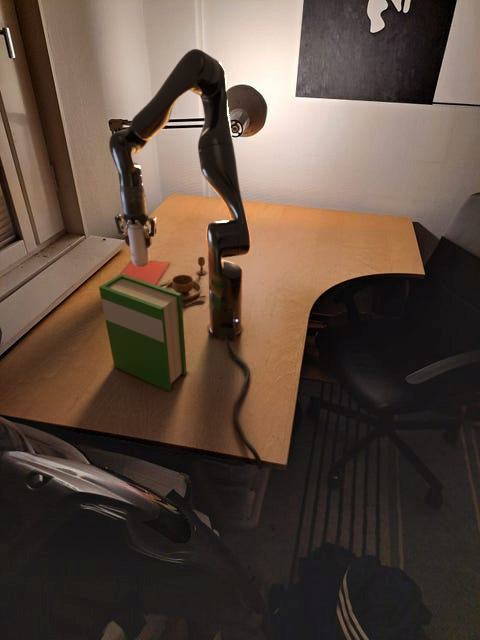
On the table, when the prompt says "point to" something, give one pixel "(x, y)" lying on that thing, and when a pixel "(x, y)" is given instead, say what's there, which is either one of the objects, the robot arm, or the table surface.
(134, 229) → the energy drink can
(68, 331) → the table surface
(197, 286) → the place setting
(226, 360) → the table surface
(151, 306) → the hardback book
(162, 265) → the cloth
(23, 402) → the table surface
